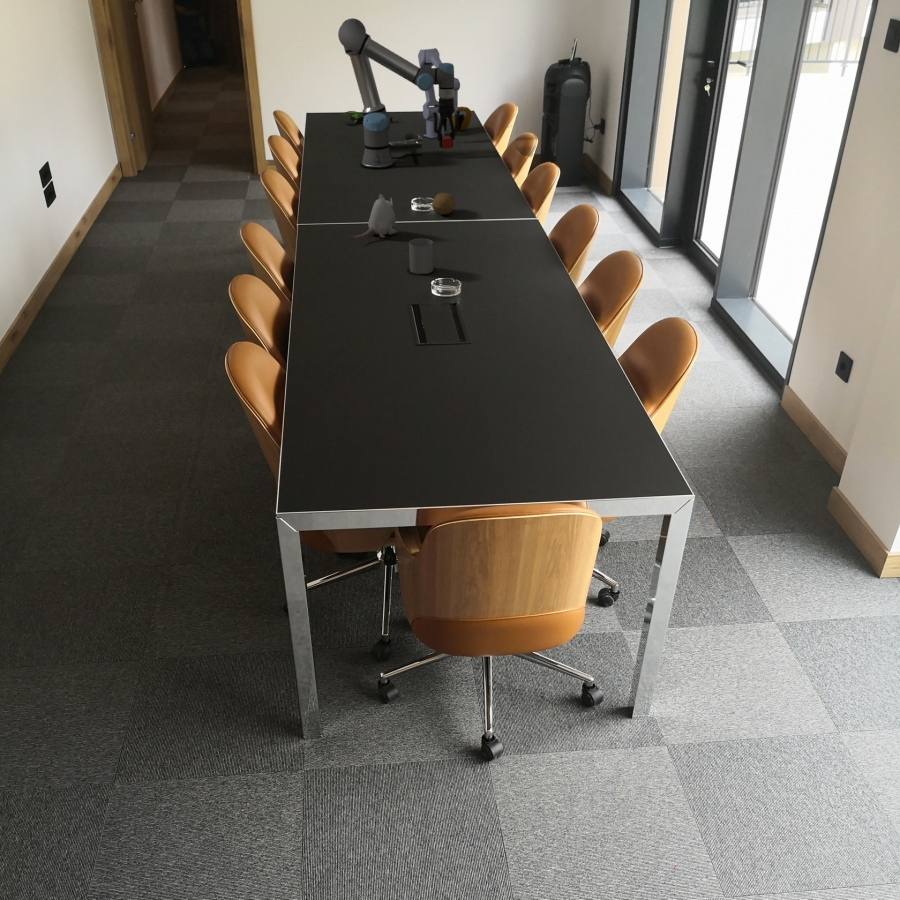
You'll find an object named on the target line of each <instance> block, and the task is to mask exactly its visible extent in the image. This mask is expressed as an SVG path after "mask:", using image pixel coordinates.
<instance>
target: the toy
mask: <svg viewBox="0 0 900 900" xmlns="http://www.w3.org/2000/svg"><path fill="white" fill-rule="evenodd" d="M396 222H397V219H396V215H395V211H394V202H393V199H392V197H390V200H387V199H385V196H384V195H383V194H382V193H379V194H378V199H376V200H375V201H374V203H373V206H372V208H371V212H370V217H369V219H368V223H367V224H368V225H367V226H368V229H367V231H365V232H363V233H362V234H358V235H350V238H351V237H352V238H363V237H365V236H367V235H369V234H370V235H375V234H377V235H379V238H382V239H385V238H386V236H385V235H387V234H388V235H394V234H397V233H398V231H397V230H396V229H394V228H395V227H396V225H397V224H396Z"/></svg>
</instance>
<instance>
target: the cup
mask: <svg viewBox="0 0 900 900" xmlns="http://www.w3.org/2000/svg"><path fill="white" fill-rule="evenodd" d="M408 253H409V272H411V273H412V274H416V275H426V274H430V273H432V272H434V241H433V240H431V239H428V238H422V237H421V238H420V237H419V238H414V239H411V240H410V241H409V242H408Z"/></svg>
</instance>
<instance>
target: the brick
mask: <svg viewBox="0 0 900 900" xmlns="http://www.w3.org/2000/svg"><path fill="white" fill-rule="evenodd" d="M441 149H442V150H443V149H444V150H445V149H453V147H452V138H451V137H450V135H445V136H442V148H441Z"/></svg>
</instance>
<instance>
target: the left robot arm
mask: <svg viewBox="0 0 900 900" xmlns="http://www.w3.org/2000/svg"><path fill="white" fill-rule="evenodd" d="M337 35H338V36H337V37H338V40H339V42H340V44H341V45H342V46H343V48H344V49H343V50H344V52H345V54H346V55H347V56H348V57H349V59H350V63H351V67H352V70H353V73H354V77H355V80H356V83H357V87H358V91H359V95H360V98H361V101H362V104H363V109H362V111H361V112H362V115H363V116H364V121H362V125H363V136H364V137H363V138H364V139H363V140H364V151H363V155H362V159H361V166H362V167H363V168H366V169H371V170H381V169H387V168H390V167H392V166H394V161H393V160H401V159H403V158H405V157H408V156H421V155H422V154H421V152H418V153H417V152H415V153H414V152H413V153H405V154H403V155H402V156H392V155H391V152H390V151H391V150H390V147H389V145H390V144H389V130H390V128H391V122H390V118H389V116H390V115H389V114H388V112H387V109H386V105H385V104H384V103H382V101H381V98H380V95H379V94H380V93H379V90H378V87H377V83H376V79H375V76H374V72H373V68H372V64H371V61H370V60H372V61H373V62H376V63H377V64H379V65H381V66H382V67H384V68H386V69H388V70H389V71H391V72H393V73H394V74H396V75H398V76H400V77H401V78H403V79H405V80H406V81H408V82H410V83H411V84H413V85H414V86H416V87H417V88H418V89H419V90H420V91H422V92H425V91H428V90H429V89H431V87H432V86H433V85H434V86H437V85H438V97H439V98H438V102H439V108H438V110H437V111H435V112H434V111H433V115H434V132H435V133H437V134H438V137H437V141H439V146H438V147H440V149H443V148H442V134H441V131H442V126H443V122H444V119H445V118H446V119H447V120H448V122H449V127H450V131H451V132H449V136H450V137H451V138H452V148H453V147H454V140H455V139H456V133H457V132H459V131H458V130H459V113H460V111H458V110H455V109H454V98H453V97H454V78H455V66H454V64H453V63H451V62H442V63H440V64H439V66H438V68H436V67H432V68H422V67H420V66H417V65H415V64H414V63H412V62H411V61H409V60H408V59H405V58H403V57H402V56H400V55H399V54H397V53H395V52H394V51H392V50H390V49H389V48H387V47H385V46H383V45H382V44H380V43H378V42H377V41H375V40H374V39H372V37H371V35H370V34H368V33H367V29H366V26H365V24H364V23H363V22H362V21H361V20H359V19H357V18H348V19H345V20H343V22H342V24H341V25H340V26H339V28H338V33H337ZM438 113H439V114H440V115H441V116H440V122H439V126H438V130H437V116H438ZM453 113H454V114H455V128H454V125H453V120H452V114H453Z"/></svg>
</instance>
